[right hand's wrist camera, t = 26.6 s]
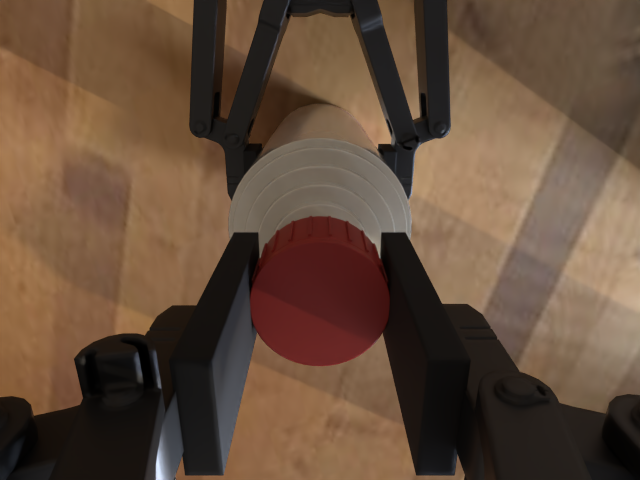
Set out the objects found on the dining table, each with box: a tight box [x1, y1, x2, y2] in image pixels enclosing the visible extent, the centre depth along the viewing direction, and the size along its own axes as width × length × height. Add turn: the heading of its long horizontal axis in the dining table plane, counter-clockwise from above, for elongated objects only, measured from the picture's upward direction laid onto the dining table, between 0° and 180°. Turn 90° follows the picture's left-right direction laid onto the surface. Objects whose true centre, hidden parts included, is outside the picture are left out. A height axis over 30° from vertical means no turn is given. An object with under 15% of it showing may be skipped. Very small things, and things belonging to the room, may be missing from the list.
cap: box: [250, 216, 390, 366], centre depth 13 cm, size 4×4×2 cm
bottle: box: [228, 103, 412, 258], centre depth 23 cm, size 7×7×22 cm
